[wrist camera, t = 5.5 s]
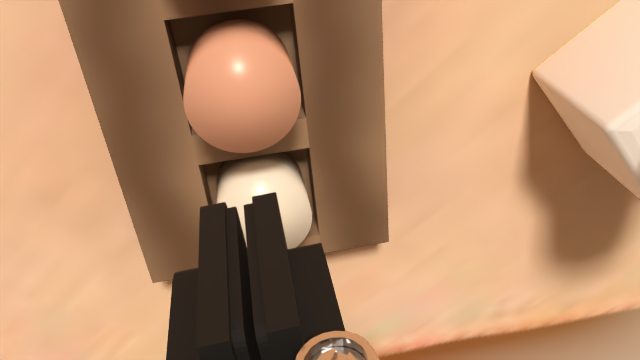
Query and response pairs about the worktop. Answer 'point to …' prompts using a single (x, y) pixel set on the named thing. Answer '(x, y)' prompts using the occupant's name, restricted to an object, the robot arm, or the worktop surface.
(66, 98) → the worktop surface
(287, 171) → the cream egg
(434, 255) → the worktop surface
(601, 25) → the medicine bottle
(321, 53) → the button board
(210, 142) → the peach rounded dome
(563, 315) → the worktop surface
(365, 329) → the worktop surface
